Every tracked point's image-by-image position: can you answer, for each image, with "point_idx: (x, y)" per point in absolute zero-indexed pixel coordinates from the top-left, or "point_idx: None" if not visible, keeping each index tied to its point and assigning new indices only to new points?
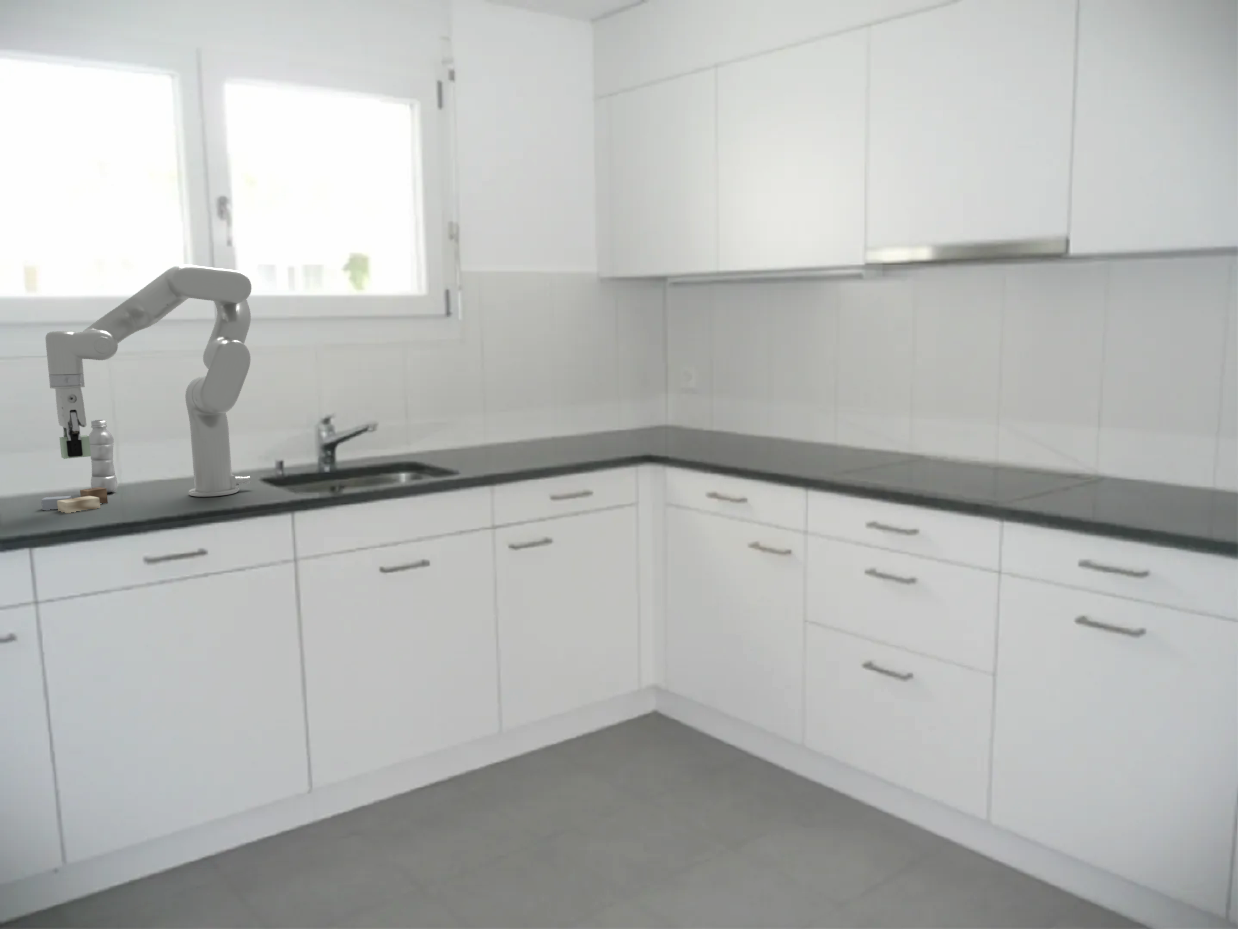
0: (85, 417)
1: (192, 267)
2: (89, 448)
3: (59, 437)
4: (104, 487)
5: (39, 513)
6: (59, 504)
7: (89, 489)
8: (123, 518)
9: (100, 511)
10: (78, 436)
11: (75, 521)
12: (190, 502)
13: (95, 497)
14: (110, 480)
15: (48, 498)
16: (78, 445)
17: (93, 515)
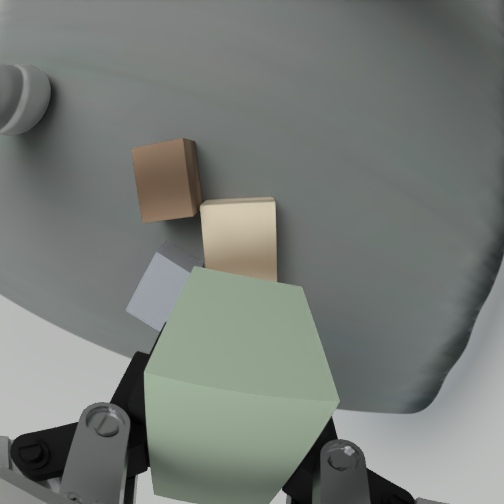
0: None
1: None
2: (309, 323)
3: (158, 494)
4: (42, 104)
5: None
6: None
7: (157, 194)
8: (460, 230)
9: (329, 221)
10: (382, 477)
11: (397, 316)
12: (398, 11)
13: (256, 208)
14: (33, 83)
15: (155, 314)
16: (330, 419)
17: (369, 260)
